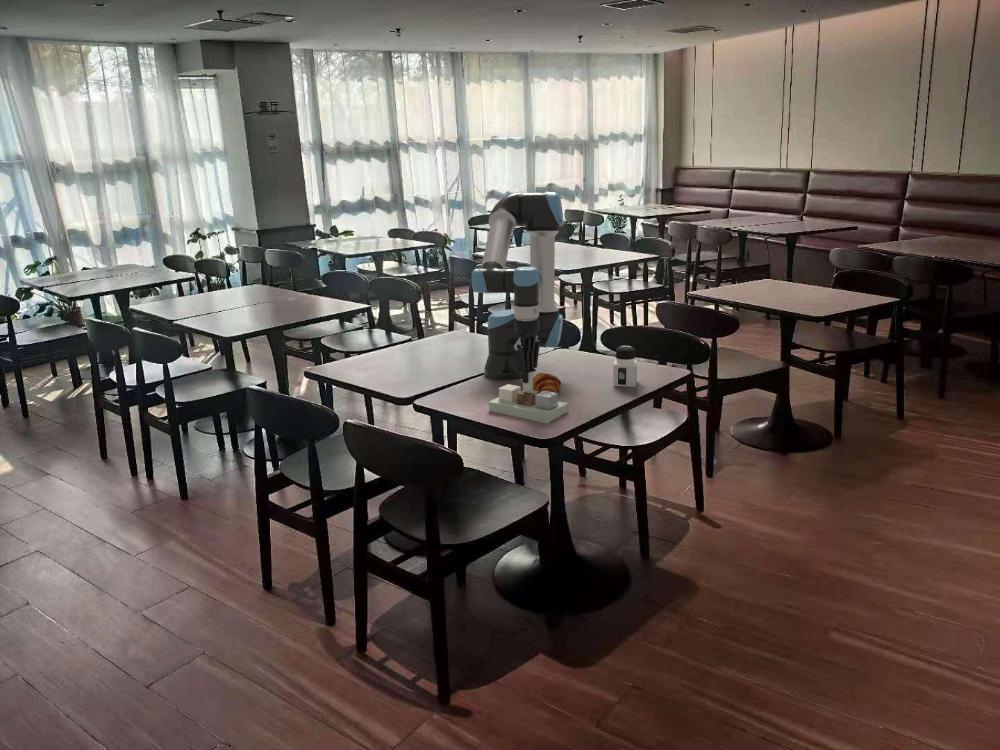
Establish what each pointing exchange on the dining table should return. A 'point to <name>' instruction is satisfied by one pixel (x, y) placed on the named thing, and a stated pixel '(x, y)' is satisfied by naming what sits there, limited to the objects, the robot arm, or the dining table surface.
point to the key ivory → (509, 393)
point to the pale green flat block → (528, 410)
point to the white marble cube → (546, 400)
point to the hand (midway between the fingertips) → (527, 391)
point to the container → (625, 367)
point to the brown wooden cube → (526, 398)
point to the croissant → (546, 383)
